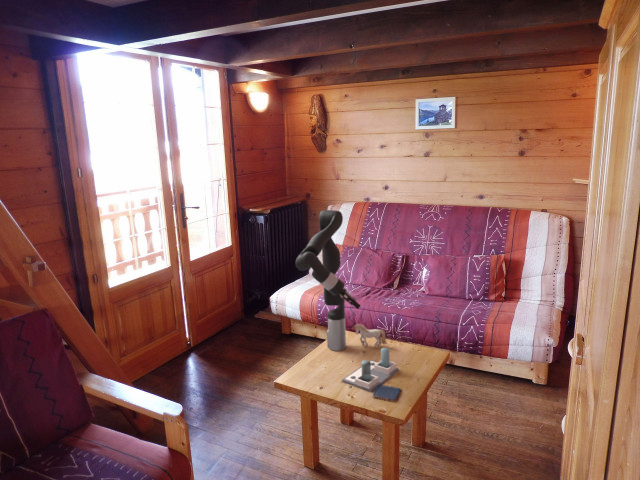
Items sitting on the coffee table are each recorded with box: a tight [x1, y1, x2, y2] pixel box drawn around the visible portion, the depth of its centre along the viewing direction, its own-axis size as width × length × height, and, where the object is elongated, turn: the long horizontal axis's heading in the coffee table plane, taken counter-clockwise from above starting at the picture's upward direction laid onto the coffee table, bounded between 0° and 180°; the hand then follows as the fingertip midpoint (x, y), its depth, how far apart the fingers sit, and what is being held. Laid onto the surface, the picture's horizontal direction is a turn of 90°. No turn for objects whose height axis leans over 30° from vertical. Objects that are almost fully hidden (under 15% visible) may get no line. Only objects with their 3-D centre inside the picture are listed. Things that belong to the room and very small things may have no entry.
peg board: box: [341, 347, 400, 393], centre depth 212 cm, size 16×24×11 cm, turn 140°
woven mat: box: [372, 384, 403, 403], centre depth 197 cm, size 10×11×2 cm
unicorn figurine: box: [351, 323, 388, 349], centre depth 243 cm, size 7×20×13 cm, turn 99°
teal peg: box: [360, 360, 371, 383], centre depth 204 cm, size 4×4×10 cm
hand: (356, 304), depth 215 cm, fingers open, 8 cm apart
